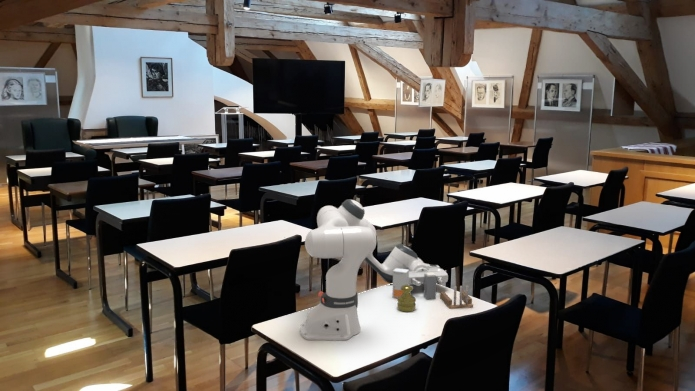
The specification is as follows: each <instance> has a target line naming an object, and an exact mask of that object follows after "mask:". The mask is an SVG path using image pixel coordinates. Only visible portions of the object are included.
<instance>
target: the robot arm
mask: <svg viewBox="0 0 695 391" xmlns="http://www.w3.org/2000/svg"><path fill="white" fill-rule="evenodd" d="M364 216H365V208H364V207H363V205H362V204H361V203H360V202H358V201H356V200H354V199H351V198H350V199H345V200H344V201H343V202H341V205H340V206H339V207H336V206H333V205H325V206H323V207H321V208H320V209H319V210H318V212H317V216H316V223H317V228H315V229H312V230H309V231H308V232H307V234H306V236H305V238H304V247H305V251H306V252H307V254H309V256H311V257H312V258H318V259H337V258H341V260H339V262H338V263H337V264H335V265H333V266H331V267H329V269H328V270H327V272H326V275H325V280H326V281H325V292H323V291H322V290H321V291H319V292H318V294H317V295H318V297H319V298H320V303H318V304H316V306H314V307H313V308H311V309H310V310H309V311H308V312H307V315H306V318H305V321H303V322H302V323H301V324H300V326H299V334H300V335H301V337H302V338H304V339H305V340H308V341H310V340H311V341H312V340H313V341H315V340H317V341H347V340H349V339H351V337H353V336H355V335H357V334H359V333H360V332H361V330H362V328H361V324H360V321H359V315H358V306H359V305H358V304H359V295H358V293H357V292H358V291H357V282H358V281H357V280H358V272H359V269H360V267H361V265H362V263H363V262H364V261H365V262H366V263H367V264H368V265H369V266H370V267H371V268H372V269H373V270H374V271H375V272H376V273H377V274H378V276H379V277H380V278H381V279H382V280H383V281H384V282H386V283H388V284H393V270H394V269H396V268H399V269H407V270H409V285H410V286H411V285H415V286H417V287H420V286H421V285H424V274H426V273H430V272H433V273H434V274H435V275H436V285H438V286H439V285H441V286H442V284H443V283H447V282H448V280H449V275H448V273H447V272H446V271H445V270H444V269H443V268H441V267H440V266H439V265H438V264H429V263H425V262H424V261H423V260H422V259H421V258H420V257H418V255H417V253H416V252H415V251H414V250H413V249H411V247H409V246H407V245H405V244H398V245H395V246H394V247H393V249H392V250H391V251H390V254H389V255H388V256H387V257H386V258H385V260H384V261H383V263H380V262H379V261H378V260H377V259H376V258H375V257H374V255H373V252H374V250H375V249H376V246H377V230H376V228H375V226H374V225H373V224H372V223H371V222H370V221H368V220H367V219H365V218H364Z"/></svg>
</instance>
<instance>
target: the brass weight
mask: <svg viewBox="0 0 695 391" xmlns="http://www.w3.org/2000/svg"><path fill="white" fill-rule="evenodd" d="M413 289H414V288H413V286H412V285H411V284H410V285H403V286H401V290H402V291H403V294H401V296H399V297H398V298H397V303H396V304H397V310H399V311H400V312H405V313H406V312H407V313H409V312H413V311H415V310H416V305H417V304H416V301H417V298H416V297H415V296H414V295H413V294H412V293H411V291H414V290H413Z"/></svg>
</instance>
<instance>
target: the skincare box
mask: <svg viewBox="0 0 695 391" xmlns="http://www.w3.org/2000/svg"><path fill="white" fill-rule="evenodd" d="M403 285H409V270H407V269H399V268H396V269H394V270H393V283H392V295H391V296H392V298H398V297H399V296H401V294H403V291H402V290H401V286H403Z"/></svg>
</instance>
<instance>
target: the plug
mask: <svg viewBox="0 0 695 391" xmlns="http://www.w3.org/2000/svg"><path fill="white" fill-rule="evenodd" d="M423 297H424V298H425V300H436V298H437V283H436V275H435V274H434V273H433V272H430V273H426V274H424V284H423Z"/></svg>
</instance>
